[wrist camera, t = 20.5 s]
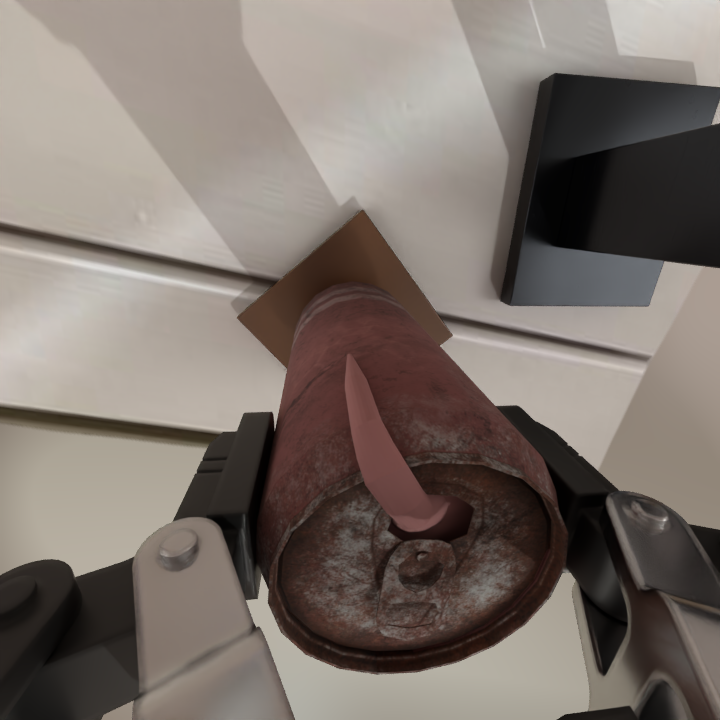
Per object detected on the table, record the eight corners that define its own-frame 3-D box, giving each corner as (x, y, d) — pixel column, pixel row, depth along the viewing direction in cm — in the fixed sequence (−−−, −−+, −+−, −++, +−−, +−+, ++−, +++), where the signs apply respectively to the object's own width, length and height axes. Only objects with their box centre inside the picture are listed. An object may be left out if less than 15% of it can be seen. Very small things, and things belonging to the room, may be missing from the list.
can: (375, 253, 17) (535, 357, 5) (424, 355, 20) (619, 612, 7) (270, 310, 18) (150, 550, 5) (330, 404, 20) (352, 724, 8)
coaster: (361, 209, 19) (363, 209, 18) (450, 333, 22) (453, 336, 21) (238, 315, 20) (236, 318, 20) (338, 416, 23) (339, 421, 23)
